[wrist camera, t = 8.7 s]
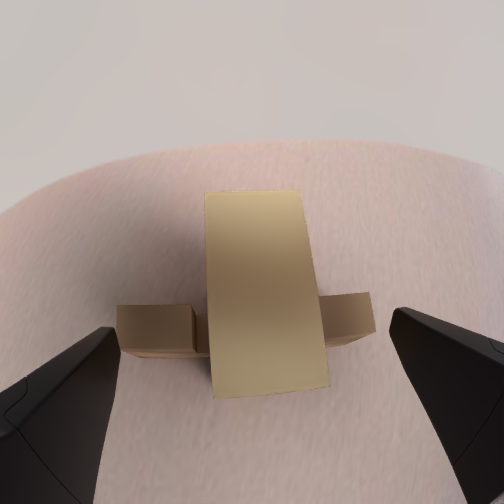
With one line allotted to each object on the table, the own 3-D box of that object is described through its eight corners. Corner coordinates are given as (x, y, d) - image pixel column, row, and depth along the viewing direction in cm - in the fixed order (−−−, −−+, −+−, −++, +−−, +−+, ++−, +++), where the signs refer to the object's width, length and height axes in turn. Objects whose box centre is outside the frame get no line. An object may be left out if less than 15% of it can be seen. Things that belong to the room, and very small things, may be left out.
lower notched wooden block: (339, 313, 19) (369, 292, 15) (344, 344, 18) (376, 331, 14) (141, 324, 17) (117, 305, 13) (141, 357, 17) (116, 348, 13)
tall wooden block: (274, 386, 17) (329, 386, 7) (221, 390, 16) (213, 398, 7) (264, 287, 19) (299, 189, 10) (214, 289, 19) (204, 192, 10)
